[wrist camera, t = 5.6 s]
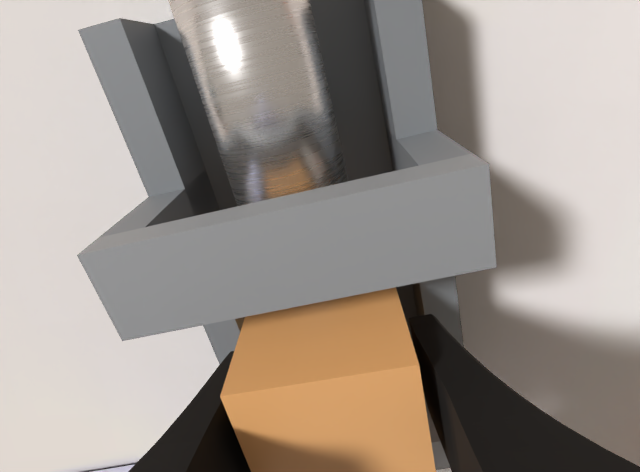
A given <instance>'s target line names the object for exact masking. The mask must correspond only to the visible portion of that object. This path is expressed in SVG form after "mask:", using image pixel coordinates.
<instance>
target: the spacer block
mask: <svg viewBox="0 0 640 472" xmlns="http://www.w3.org/2000/svg"><path fill="white" fill-rule="evenodd" d="M220 398H221V400H222V403H223V405H224V407H225V410H226V412H227V415H228V417H229V419H230V422H231V424H232V427H233V429H234V432H235V434H236V436H237V439H238V441H239V444H240V446H241V449H242V451H243V453H244V456H245V458H246V461H247V463H248V465H249V468H250V470H251V472H436V469H435V462H434V456H433V450H432V443H431V437H430V430H429V424H428V418H427V411H426V405H425V398H424V392H423V386H422V379H421V373H420V367H419V362H418V359H417V356H416V352H415V349H414V346H413V342H412V339H411V336H410V332H409V329H408V326H407V322H406V319H405V316H404V312H403V309H402V306H401V302H400V299H399V296H398V292H397V289H396V287H395V288H389V289H384V290H379V291H374V292H369V293H364V294H359V295H354V296H349V297H344V298H339V299H333V300H328V301H323V302H318V303H313V304H308V305H303V306H298V307H293V308H288V309H283V310H277V311H272V312H267V313H262V314H257V315H252V316H247V317H245V319H244V322H243V325H242V328H241V332H240V335H239V338H238V341H237V344H236V347H235V351H234V354H233V357H232V360H231V363H230V366H229V370H228V373H227V376H226V379H225V382H224V385H223V389H222V392H221V395H220Z"/></svg>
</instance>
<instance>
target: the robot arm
mask: <svg viewBox="0 0 640 472" xmlns="http://www.w3.org/2000/svg"><path fill="white" fill-rule="evenodd" d="M409 322H410V328H411V333H412V339H413V344H414V349H415V352H416V356H417V359H418V362H419V367H420V373H421V379H422V386H423V392H424V396H425V399H426V403H427V407H428V410H429V413H430V415H431V418H432V421H433V423H434V426H435V429H436V431H437V434H438V436H439V439H440V442H441V444H442V447H443V449H444V452H445V455H446V457H447V460H448V462H449V465H450V468H451V470H452V472H640V467H639V466H637V465H635V464H633V463H631V462H629V461H627V460H625V459H624V458H622V457H620V456H618V455H616V454H614V453H612V452H610V451H608V450H606V449H604V448H603V447H601V446H599V445H597V444H596V443H594V442H592V441H590V440H589V439H587V438H585V437H584V436H582V435H580V434H578V433H577V432H575V431H573V430H572V429H570V428H568V427H566V426H565V425H563V424H561V423H560V422H558V421H557V420H555V419H554V418H552V417H551V416H549V415H548V414H546V413H545V412H543V411H542V410H540V409H539V408H537V407H536V406H534V405H533V404H532V403H530V402H529V401H527V400H526V399H524V398H523V397H522V396H520V395H519V394H518V393H516V392H515V391H514V390H512V389H511V388H510V387H509V386H507V385H506V384H505V383H503V382H502V381H501V380H500V379H499V378H497V377H496V376H495V375H494V374H493V373H491V372H490V371H489V370H488V369H487V368H486V367H484V366H483V365H482V364H481V363H480V362H479V361H478V360H477V359H476V358H474V357H473V356H472V355H471V354H470V353H469V352H468V351H467V350H466V349H465V348H464V347H463V346H462V345H461V344H460V343H459V342H458V341H457V340H456V339H455V338H454V337H453V336H452V335H451V334H450V333H449V332H448V331H447V330H446V329H445V327H444V326H443V325H442V324H441V323H440V322H439V320H438V319H437V318H436V317H435V316H434V315H432V314H427V315H422V316H417V317H411V318H409ZM233 354H234V351H231V352H230V353H229V354H228V355H227V356H226V358H225V359H224V360H223V361H222V363H221V364H220V365H219V367H218V368H217V369H216V370H215V372H214V373H213V374H212V376H211V377H210V378H209V380H208V381H207V382H206V384H205V385H204V386H203V387H202V389H201V390H200V391H199V392H198V394H197V395H196V396H195V398H194V399H193V400H192V401H191V403H190V404H189V405H188V406H187V408H186V409H185V410H184V411H183V412H182V414H181V415H180V416H179V417H178V418H177V419H176V421H175V422H174V423H173V424H172V425H171V426H170V428H169V429H168V430H167V431H166V432H165V433H164V435H163V436H162V437H161V438H160V439H159V440H158V441H157V442H156V443H155V445H154V446H153V447H152V448H151V449H150V450H149V451H148V452H147V453H146V454H145V455H144V456H143V457H142V458H141V459H140V460H139V461H138V462H137V463H136V464H134V465H128V466H122V467H116V468H110V469H104V470H97V471H91V472H251V470H250V468H249V465H248V463H247V461H246V458H245V456H244V453H243V451H242V449H241V446H240V444H239V441H238V439H237V436H236V434H235V432H234V429H233V427H232V424H231V422H230V419H229V417H228V415H227V412H226V410H225V407H224V405H223V403H222V400H221V398H220V395H221V392H222V389H223V385H224V382H225V379H226V376H227V373H228V370H229V366H230V363H231V360H232V357H233Z"/></svg>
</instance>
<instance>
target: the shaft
mask: <svg viewBox="0 0 640 472" xmlns="http://www.w3.org/2000/svg"><path fill="white" fill-rule="evenodd" d="M168 1H169V4H170V7H171V10H172V13H173V16H174V19H175V22H176V25H177V28H178V31H179V34H180V37H181V40H182V43H183V46H184V49H185V52H186V55H187V58H188V61H189V64H190V67H191V70H192V73H193V76H194V79H195V82H196V85H197V88H198V91H199V94H200V97H201V100H202V102H203V105H204V108H205V111H206V114H207V117H208V120H209V123H210V126H211V129H212V132H213V135H214V138H215V141H216V144H217V147H218V150H219V153H220V156H221V159H222V162H223V165H224V168H225V171H226V174H227V177H228V180H229V183H230V186H231V189H232V192H233V195H234V198H235V201H236V204H237V206H241V205H246V204H250V203H255V202H259V201H264V200H268V199H272V198H277V197H281V196H286V195H290V194H295V193H299V192H303V191H308V190H312V189H317V188H321V187H326V186H330V185H335V184H339V183H343V182H348V176H347V171H346V167H345V162H344V157H343V153H342V148H341V143H340V139H339V134H338V130H337V125H336V120H335V116H334V111H333V106H332V102H331V97H330V92H329V88H328V83H327V79H326V74H325V69H324V65H323V60H322V55H321V51H320V46H319V41H318V37H317V32H316V28H315V23H314V18H313V14H312V9H311V4H310V0H168Z"/></svg>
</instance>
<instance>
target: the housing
mask: <svg viewBox="0 0 640 472" xmlns="http://www.w3.org/2000/svg"><path fill="white" fill-rule="evenodd" d="M310 4H311V9H312V14H313V18H314V23H315V28H316V32H317V37H318V41H319V46H320V51H321V55H322V60H323V65H324V69H325V74H326V79H327V83H328V88H329V92H330V97H331V102H332V106H333V111H334V116H335V120H336V125H337V130H338V134H339V139H340V143H341V148H342V153H343V157H344V162H345V167H346V171H347V176H348V182H343V183H339V184H335V185H330V186H326V187H321V188H317V189H312V190H308V191H303V192H299V193H295V194H290V195H286V196H281V197H277V198H272V199H268V200H264V201H259V202H255V203H250V204H246V205H241V206H237V204H236V201H235V198H234V195H233V192H232V189H231V186H230V183H229V180H228V177H227V174H226V171H225V168H224V165H223V162H222V159H221V156H220V153H219V150H218V147H217V144H216V141H215V138H214V135H213V132H212V129H211V126H210V123H209V120H208V117H207V114H206V111H205V108H204V105H203V102H202V100H201V97H200V94H199V91H198V88H197V85H196V82H195V79H194V76H193V73H192V70H191V67H190V64H189V61H188V58H187V55H186V52H185V49H184V46H183V43H182V40H181V37H180V34H179V31H178V28H177V25H176V22H175V19H172V20H168V21H165V22H161V23H157V24H149V23H143V22H138V21H132V20H126V19H121V18H119V19H115V20H112V21H108V22H105V23H101V24H98V25H94V26H91V27H87V28H84V29H80V30H78V31H79V33H80V36H81V38H82V40H83V43H84V45H85V47H86V50H87V52H88V54H89V57H90V59H91V62H92V64H93V66H94V69H95V71H96V73H97V76H98V78H99V80H100V83H101V85H102V88H103V90H104V92H105V95H106V97H107V99H108V102H109V104H110V106H111V109H112V111H113V114H114V116H115V118H116V121H117V123H118V125H119V128H120V130H121V132H122V135H123V137H124V139H125V142H126V144H127V147H128V149H129V151H130V154H131V156H132V158H133V161H134V163H135V165H136V168H137V170H138V173H139V175H140V177H141V180H142V182H143V184H144V187H145V189H146V191H147V194H148V196H149V197H148V198H147V199H146V200H145V201H143V202H142V203H141V204H140V205H138V206H137V207H136V208H135V209H133V210H132V211H131V212H130V213H129V214H127V215H126V216H125V217H124V218H122V219H121V220H120V221H119V222H117V223H116V224H115V225H114V226H113V227H111V228H110V229H109V230H108V231H106V232H105V233H104V234H103V235H101V236H100V237H99V238H98V239H97V240H95V241H94V242H93V243H92V244H90V245H89V246H88V247H87V248H85V249H84V250H83V251H82V252H80V253H79V254H78V255H77V256H78V258H79V260H80V262H81V264H82V266H83V267H84V269H85V271H86V273H87V275H88V277H89V279H90V281H91V283H92V284H93V286H94V288H95V290H96V292H97V294H98V296H99V298H100V300H101V301H102V303H103V305H104V307H105V309H106V311H107V313H108V315H109V317H110V318H111V320H112V322H113V324H114V326H115V328H116V330H117V332H118V334H119V336H120V337H121V339H122V341H125V340H130V339H135V338H140V337H145V336H150V335H155V334H160V333H165V332H171V331H176V330H181V329H186V328H191V327H196V326H201V325H203V326H204V328H205V331H206V333H207V335H208V338H209V340H210V343H211V345H212V347H213V350H214V352H215V354H216V357H217V359H218V361H219V364H221V363H222V361H223V360H224V359H225V358H226V356H227V355H228V354H229V353H230V352H231V351H235V347H236V344H237V341H238V338H239V335H240V332H241V328H242V325H243V322H244V319H245V317H247V316H252V315H257V314H262V313H267V312H272V311H277V310H283V309H288V308H293V307H298V306H303V305H308V304H313V303H318V302H323V301H328V300H333V299H339V298H344V297H349V296H354V295H359V294H364V293H369V292H374V291H379V290H384V289H389V288H395V287H396V289H397V292H398V296H399V299H400V302H401V306H402V309H403V312H404V316H405V319H406V322H407V326H408V329H409V332H410V336H411V339H412V333H411V328H410V322H409V318H411V317H417V316H422V315H427V314H432V315H434V316H435V317H436V318H437V319H438V320H439V322H440V323H441V324H442V325H443V326H444V327H445V329H446V330H447V331H448V332H449V333H450V334H451V335H452V336H453V337H454V338H455V339H456V340H457V341H458V342H459V343H460V344H461V345H462V346H463V338H462V330H461V321H460V313H459V305H458V296H457V288H456V280H455V276H456V275H461V274H466V273H471V272H476V271H481V270H486V269H491V268H496V267H497V266H496V252H495V239H494V225H493V211H492V198H491V184H490V170H489V163H487V162H486V161H484V160H482V159H481V158H479V157H478V156H476V155H475V154H473V153H472V152H470V151H469V150H467V149H466V148H464V147H463V146H461V145H460V144H458V143H457V142H455V141H454V140H452V139H451V138H449V137H448V136H446V135H445V134H443V133H442V132H440V131H439V130H437V122H436V113H435V105H434V97H433V88H432V80H431V72H430V63H429V55H428V47H427V38H426V30H425V22H424V13H423V5H422V0H310ZM412 342H413V339H412ZM413 346H414V344H413ZM463 347H464V346H463ZM424 398H425V396H424ZM425 405H426V411H427V418H428V424H429V430H430V437H431V443H432V450H433V456H434V462H435V469H436V470H437V469H444V468H450V465H449V462H448V460H447V457H446V455H445V452H444V449H443V447H442V444H441V442H440V439H439V436H438V434H437V431H436V429H435V426H434V423H433V421H432V418H431V415H430V413H429V410H428V407H427V403H426V399H425Z"/></svg>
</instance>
